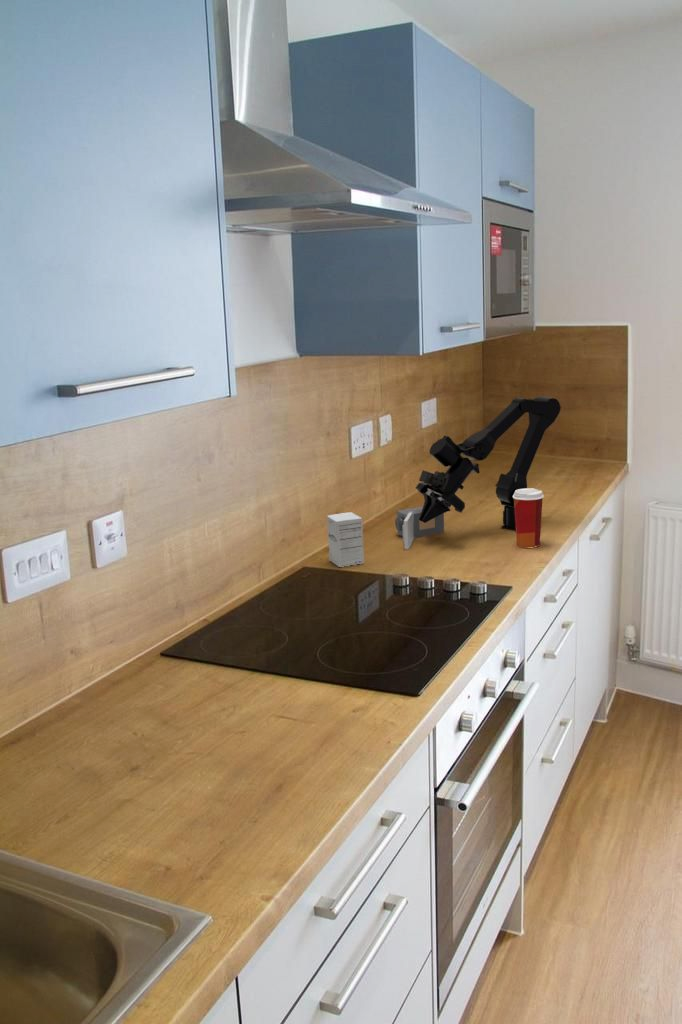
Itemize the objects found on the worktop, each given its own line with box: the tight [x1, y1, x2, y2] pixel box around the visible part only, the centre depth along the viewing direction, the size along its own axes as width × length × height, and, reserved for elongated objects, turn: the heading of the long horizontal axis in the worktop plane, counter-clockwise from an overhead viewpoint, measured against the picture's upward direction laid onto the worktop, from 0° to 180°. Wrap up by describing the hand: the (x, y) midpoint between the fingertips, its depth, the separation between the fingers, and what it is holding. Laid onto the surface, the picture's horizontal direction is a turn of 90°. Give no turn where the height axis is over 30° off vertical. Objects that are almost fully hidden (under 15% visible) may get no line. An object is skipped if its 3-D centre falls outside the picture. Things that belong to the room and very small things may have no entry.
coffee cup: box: [513, 487, 545, 548], centre depth 239 cm, size 8×8×15 cm
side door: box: [402, 511, 416, 550], centre depth 247 cm, size 11×2×8 cm, turn 167°
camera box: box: [394, 506, 445, 538], centre depth 256 cm, size 13×6×8 cm, turn 113°
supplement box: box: [326, 511, 365, 568], centre depth 233 cm, size 7×7×13 cm
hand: (421, 521), depth 245 cm, fingers closed
